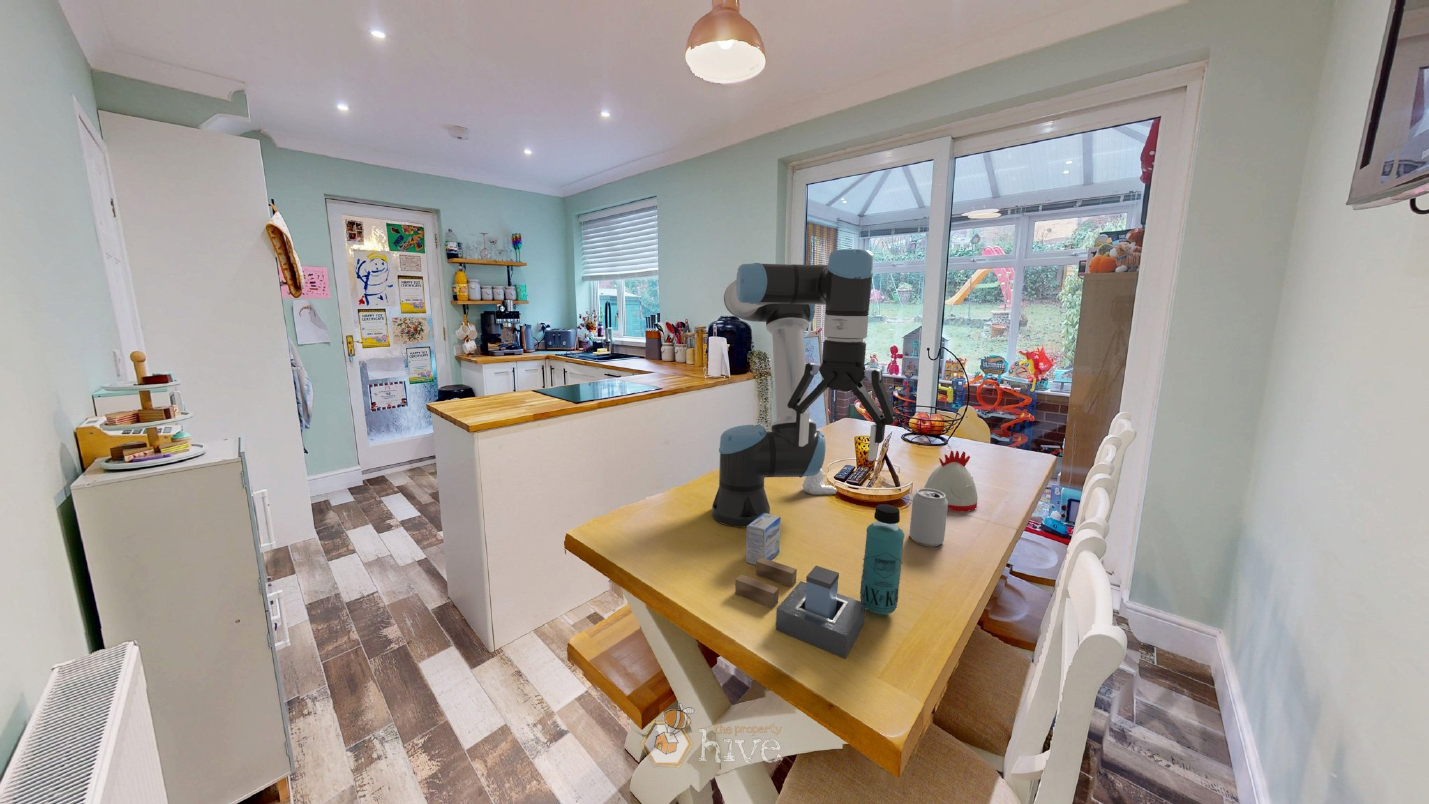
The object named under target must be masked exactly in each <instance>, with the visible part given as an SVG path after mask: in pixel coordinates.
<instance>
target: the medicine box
mask: <svg viewBox="0 0 1429 804" xmlns="http://www.w3.org/2000/svg"><path fill="white" fill-rule="evenodd" d="M781 520H782V518H781V517H780V516H778V515H775V514H771V513H770V514H767V513H763V514H762V515H760V516H759V517H758V518H757V519H755V520H754V521H753V522H751V523H750V524H749V525H747V527H746V541H745V543H746V550H745V551H746V552H745V553H746V555H745V557H746V558H745V561H746V563H748V564H751V565H753V566H756V561H757V560H758V559H759V558H760V557H762V558H765V559H768V560H771V561H773V559H774V558H775V557H776V556H777V555H778V554H779V553H780V551H781V549H780V546H781V544H780V543H781Z"/></svg>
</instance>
